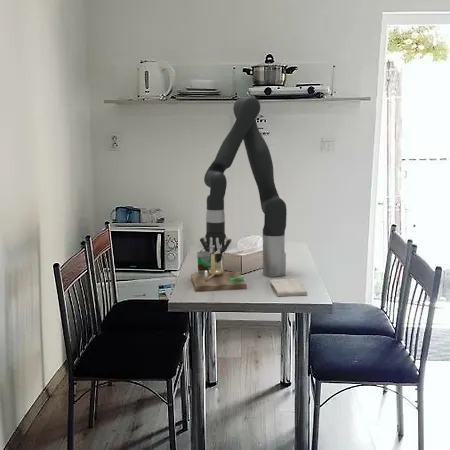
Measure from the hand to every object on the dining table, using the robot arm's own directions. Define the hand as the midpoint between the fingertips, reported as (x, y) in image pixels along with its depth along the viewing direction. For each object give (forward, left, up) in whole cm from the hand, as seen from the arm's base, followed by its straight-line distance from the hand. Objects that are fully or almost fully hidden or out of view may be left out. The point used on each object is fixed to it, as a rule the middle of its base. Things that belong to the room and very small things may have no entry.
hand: (215, 261), depth 250 cm
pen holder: (-5, -43, -8) cm, 44 cm away
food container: (+2, -13, -8) cm, 15 cm away
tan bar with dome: (+2, +3, -5) cm, 6 cm away
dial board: (0, +6, -8) cm, 10 cm away
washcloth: (-26, +19, -8) cm, 33 cm away
